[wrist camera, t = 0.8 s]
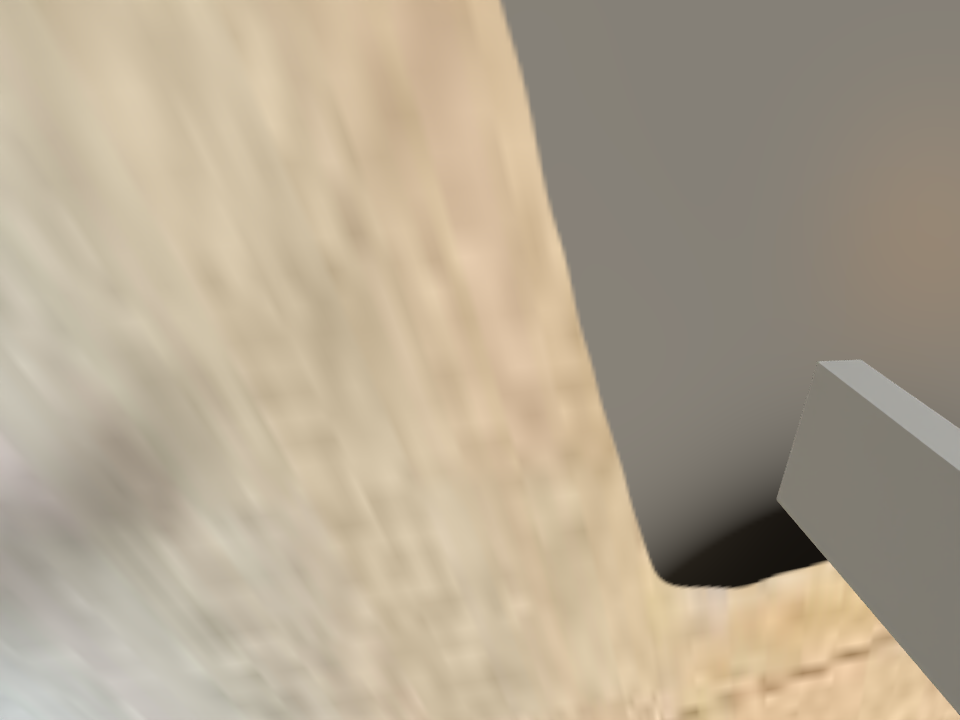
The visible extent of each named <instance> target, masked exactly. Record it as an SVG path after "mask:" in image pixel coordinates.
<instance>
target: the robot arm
mask: <svg viewBox="0 0 960 720" xmlns="http://www.w3.org/2000/svg"><path fill="white" fill-rule="evenodd" d="M777 501H778V502H779V503H780V504H781V506H782V507H783V508H784V509H785V510H786V511H787V512H788V514H789V515H790V516H791V517H792V518H793V520H794V521H795V522H796V523H797V524H798V526H799V527H800V528H801V529H802V530H803V531H804V533H805V534H806V535H807V536H808V537H809V538H810V540H811V541H812V542H813V543H814V544H815V546H816V547H817V548H818V549H819V550H820V551H821V553H822V554H823V555H824V556H825V557H826V558H827V560H828V561H829V562H830V563H831V564H832V566H833V567H834V568H835V569H836V570H837V571H838V573H839V574H840V575H841V576H842V577H843V578H844V580H845V581H846V582H847V583H848V584H849V586H850V587H851V588H852V589H853V590H854V591H855V593H856V594H857V595H858V596H859V597H860V598H861V600H862V601H863V602H864V603H865V604H866V606H867V607H868V608H869V609H870V610H871V611H872V613H873V614H874V615H875V616H876V617H877V618H878V620H879V621H880V622H881V623H882V624H883V626H884V627H885V628H886V629H887V630H888V631H889V633H890V634H891V635H892V636H893V637H894V638H895V640H896V641H897V642H898V643H899V644H900V645H901V647H902V648H903V649H904V650H905V651H906V653H907V654H908V655H909V656H910V657H911V658H912V660H913V661H914V662H915V663H916V664H917V665H918V667H919V668H920V669H921V670H922V671H923V673H924V674H925V675H926V676H927V677H928V678H929V680H930V681H931V682H932V683H933V684H934V685H935V687H936V688H937V689H938V690H939V691H940V693H941V694H942V695H943V696H944V697H945V698H946V700H947V701H948V702H949V703H950V704H951V705H952V707H953V708H954V709H955V710H956V711H957V713H958V714H959V715H960V429H959V428H958V427H956V426H955V425H953V424H952V423H950V422H949V421H948V420H946V419H945V418H943V417H942V416H941V415H939V414H938V413H936V412H935V411H933V410H932V409H931V408H929V407H927V406H926V405H925V404H923V403H922V402H920V401H919V400H918V399H916V398H915V397H913V396H912V395H910V394H909V393H908V392H906V391H905V390H903V389H902V388H900V387H899V386H898V385H896V384H895V383H893V382H892V381H890V380H889V379H887V378H886V377H885V376H883V375H882V374H880V373H879V372H878V371H876V370H875V369H873V368H872V367H870V366H869V365H867V364H866V363H865V362H863V361H862V360H846V361H845V360H844V361H821V362H817V365H816V369H815V372H814V375H813V378H812V382H811V385H810V389H809V392H808V395H807V399H806V402H805V405H804V409H803V412H802V416H801V419H800V422H799V426H798V429H797V433H796V436H795V439H794V443H793V446H792V449H791V453H790V456H789V460H788V463H787V466H786V469H785V473H784V476H783V479H782V483H781V486H780V489H779V493H778V496H777Z"/></svg>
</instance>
